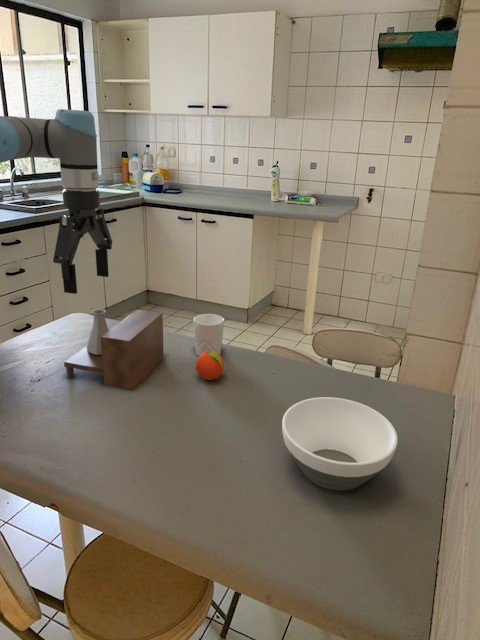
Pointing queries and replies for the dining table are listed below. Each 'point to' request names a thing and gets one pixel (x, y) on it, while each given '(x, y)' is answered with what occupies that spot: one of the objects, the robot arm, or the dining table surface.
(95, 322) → the flask
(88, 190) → the robot arm
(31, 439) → the dining table surface
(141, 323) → the shelf
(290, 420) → the bowl
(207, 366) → the clementine
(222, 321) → the white cup
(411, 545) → the dining table surface
